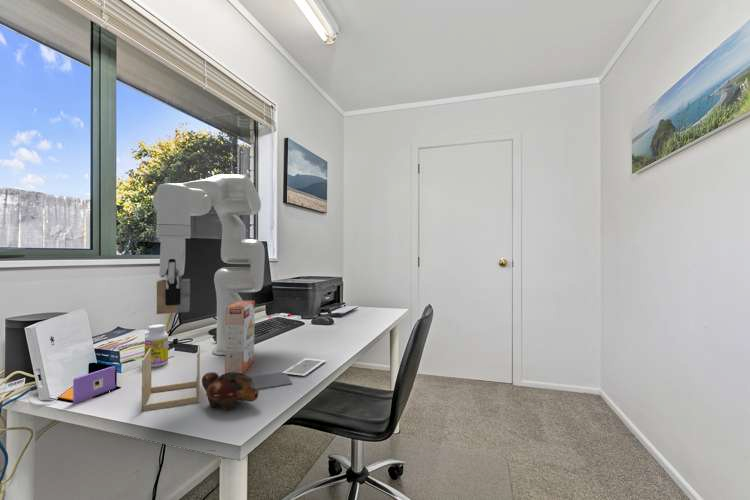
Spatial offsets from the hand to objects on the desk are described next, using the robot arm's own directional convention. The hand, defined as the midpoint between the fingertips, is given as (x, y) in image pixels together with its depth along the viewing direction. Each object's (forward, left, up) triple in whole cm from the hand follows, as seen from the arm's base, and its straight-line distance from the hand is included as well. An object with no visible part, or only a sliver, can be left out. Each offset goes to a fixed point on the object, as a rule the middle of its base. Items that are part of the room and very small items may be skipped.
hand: (174, 302), depth 88 cm
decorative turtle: (+12, +13, -25) cm, 30 cm away
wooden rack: (0, 0, -24) cm, 24 cm away
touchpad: (-7, +36, -25) cm, 45 cm away
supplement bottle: (-32, -8, -25) cm, 41 cm away
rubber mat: (-1, +24, -24) cm, 35 cm away
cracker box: (-17, +17, -25) cm, 35 cm away
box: (0, 0, -2) cm, 2 cm away
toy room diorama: (-12, -21, -25) cm, 35 cm away
